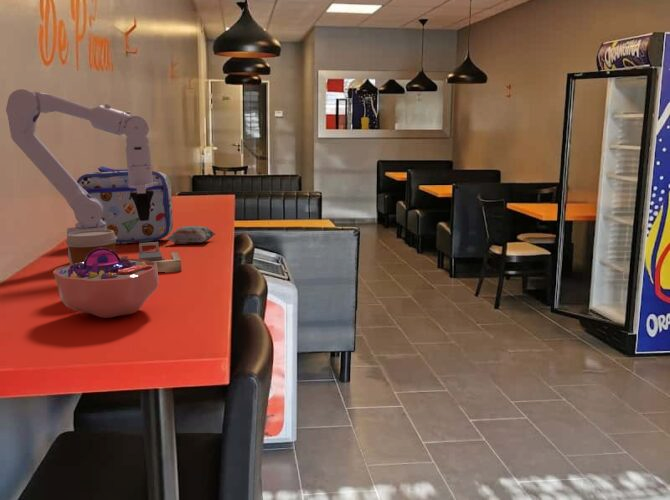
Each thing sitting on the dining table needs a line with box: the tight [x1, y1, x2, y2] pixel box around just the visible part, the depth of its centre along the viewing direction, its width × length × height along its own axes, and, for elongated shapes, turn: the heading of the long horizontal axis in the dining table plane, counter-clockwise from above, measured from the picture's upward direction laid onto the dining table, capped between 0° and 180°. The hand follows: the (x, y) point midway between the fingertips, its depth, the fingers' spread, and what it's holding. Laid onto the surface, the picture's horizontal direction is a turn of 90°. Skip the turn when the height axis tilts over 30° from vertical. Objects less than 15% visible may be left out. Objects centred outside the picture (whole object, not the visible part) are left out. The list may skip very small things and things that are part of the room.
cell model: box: [52, 248, 160, 319], centre depth 121 cm, size 17×20×11 cm
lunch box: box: [76, 166, 174, 245], centre depth 203 cm, size 28×10×22 cm, turn 92°
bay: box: [120, 251, 183, 273], centre depth 162 cm, size 13×12×2 cm
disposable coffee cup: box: [65, 230, 117, 264], centre depth 138 cm, size 10×10×12 cm
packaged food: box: [164, 225, 216, 245], centre depth 199 cm, size 9×12×5 cm
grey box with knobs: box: [137, 241, 165, 261], centre depth 163 cm, size 6×9×5 cm
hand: (144, 220), depth 176 cm, fingers closed
